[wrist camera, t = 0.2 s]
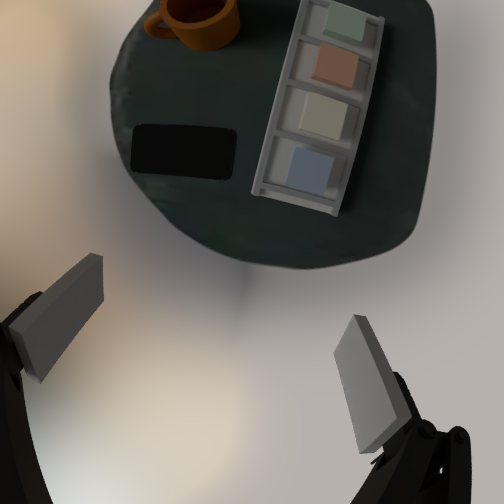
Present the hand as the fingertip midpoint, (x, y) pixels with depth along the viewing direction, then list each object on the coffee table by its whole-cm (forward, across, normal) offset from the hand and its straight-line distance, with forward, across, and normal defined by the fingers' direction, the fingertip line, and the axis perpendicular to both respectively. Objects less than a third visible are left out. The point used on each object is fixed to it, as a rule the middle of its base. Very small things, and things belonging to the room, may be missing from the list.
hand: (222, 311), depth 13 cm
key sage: (+24, +6, +27) cm, 36 cm away
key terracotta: (+24, +6, +20) cm, 32 cm away
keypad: (+27, +6, +17) cm, 32 cm away
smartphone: (+28, -11, +4) cm, 30 cm away
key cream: (+24, +6, +13) cm, 28 cm away
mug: (+27, -13, +24) cm, 38 cm away
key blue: (+24, +6, +6) cm, 25 cm away
